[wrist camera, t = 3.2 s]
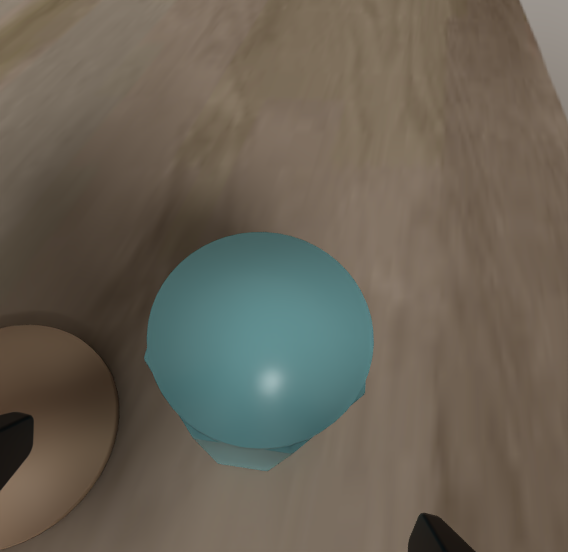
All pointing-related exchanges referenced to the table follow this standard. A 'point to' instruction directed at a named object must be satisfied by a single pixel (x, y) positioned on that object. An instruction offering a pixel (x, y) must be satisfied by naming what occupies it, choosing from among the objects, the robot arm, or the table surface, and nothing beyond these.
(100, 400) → the tan round disc
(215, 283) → the teal lidded canister
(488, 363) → the table surface
